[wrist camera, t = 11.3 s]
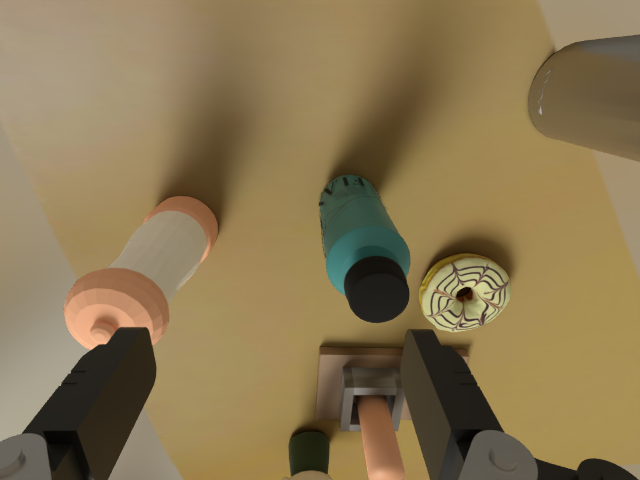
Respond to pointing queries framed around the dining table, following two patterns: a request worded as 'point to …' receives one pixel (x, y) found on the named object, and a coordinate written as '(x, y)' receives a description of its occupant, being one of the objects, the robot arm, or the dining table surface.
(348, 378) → the holder
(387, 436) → the peg
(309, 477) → the character mug
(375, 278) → the beverage bottle
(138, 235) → the pepper shaker
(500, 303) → the decorated donut
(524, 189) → the dining table surface
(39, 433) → the robot arm
